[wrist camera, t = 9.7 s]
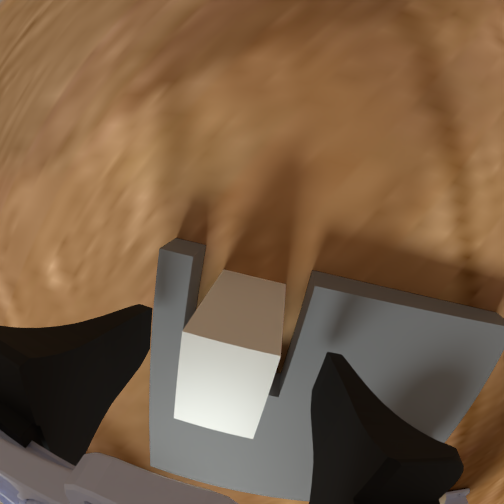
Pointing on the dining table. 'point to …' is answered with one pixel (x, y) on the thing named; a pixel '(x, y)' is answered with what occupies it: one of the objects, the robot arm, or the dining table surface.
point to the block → (231, 354)
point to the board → (307, 369)
